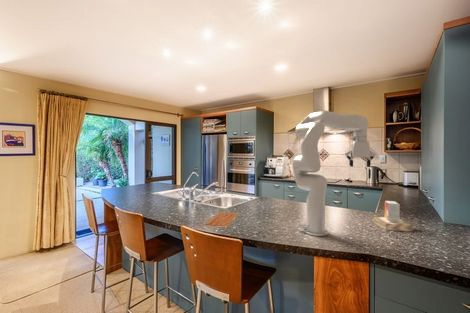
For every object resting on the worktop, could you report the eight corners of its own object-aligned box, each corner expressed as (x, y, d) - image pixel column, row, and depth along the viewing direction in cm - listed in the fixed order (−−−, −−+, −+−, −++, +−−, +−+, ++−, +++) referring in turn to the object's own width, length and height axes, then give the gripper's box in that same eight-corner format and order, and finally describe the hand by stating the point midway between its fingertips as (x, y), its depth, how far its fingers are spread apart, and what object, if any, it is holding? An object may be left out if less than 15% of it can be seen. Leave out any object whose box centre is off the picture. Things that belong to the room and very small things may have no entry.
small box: (384, 217, 135) (384, 200, 135) (395, 218, 133) (395, 201, 133) (388, 221, 128) (388, 203, 128) (399, 222, 126) (399, 203, 126)
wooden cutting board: (238, 215, 158) (238, 213, 158) (227, 228, 129) (227, 225, 129) (219, 213, 162) (219, 211, 162) (203, 226, 133) (203, 224, 133)
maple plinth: (385, 230, 125) (385, 223, 125) (374, 222, 138) (374, 216, 138) (413, 231, 123) (413, 224, 123) (398, 223, 136) (398, 217, 136)
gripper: (347, 139, 138) (347, 166, 137) (377, 139, 135) (377, 167, 134) (343, 140, 145) (343, 166, 145) (372, 140, 142) (372, 166, 142)
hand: (359, 166), depth 140 cm, fingers open, 9 cm apart
